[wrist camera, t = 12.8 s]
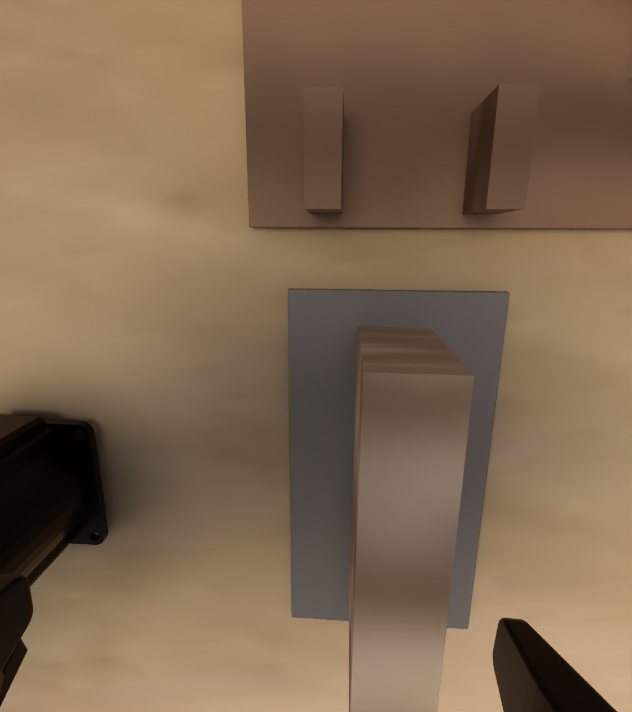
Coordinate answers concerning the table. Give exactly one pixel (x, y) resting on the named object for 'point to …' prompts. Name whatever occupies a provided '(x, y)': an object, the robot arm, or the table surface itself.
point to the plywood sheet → (404, 515)
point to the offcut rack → (438, 113)
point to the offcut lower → (630, 68)
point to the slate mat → (337, 427)
